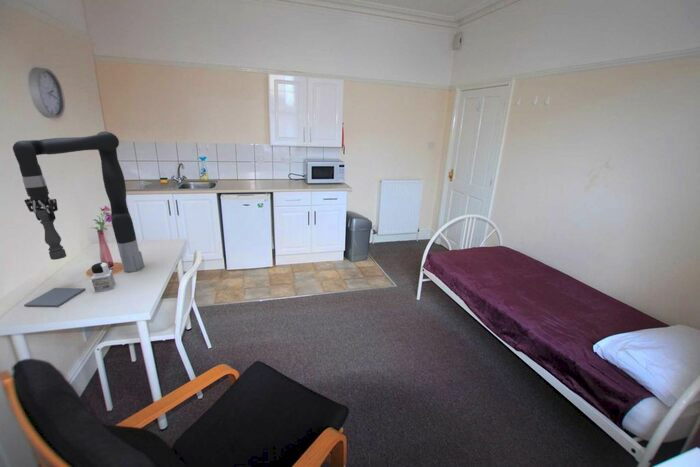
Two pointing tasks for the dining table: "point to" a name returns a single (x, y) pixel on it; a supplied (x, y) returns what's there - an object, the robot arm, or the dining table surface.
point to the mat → (55, 297)
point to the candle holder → (51, 235)
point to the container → (102, 277)
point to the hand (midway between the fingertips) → (46, 219)
